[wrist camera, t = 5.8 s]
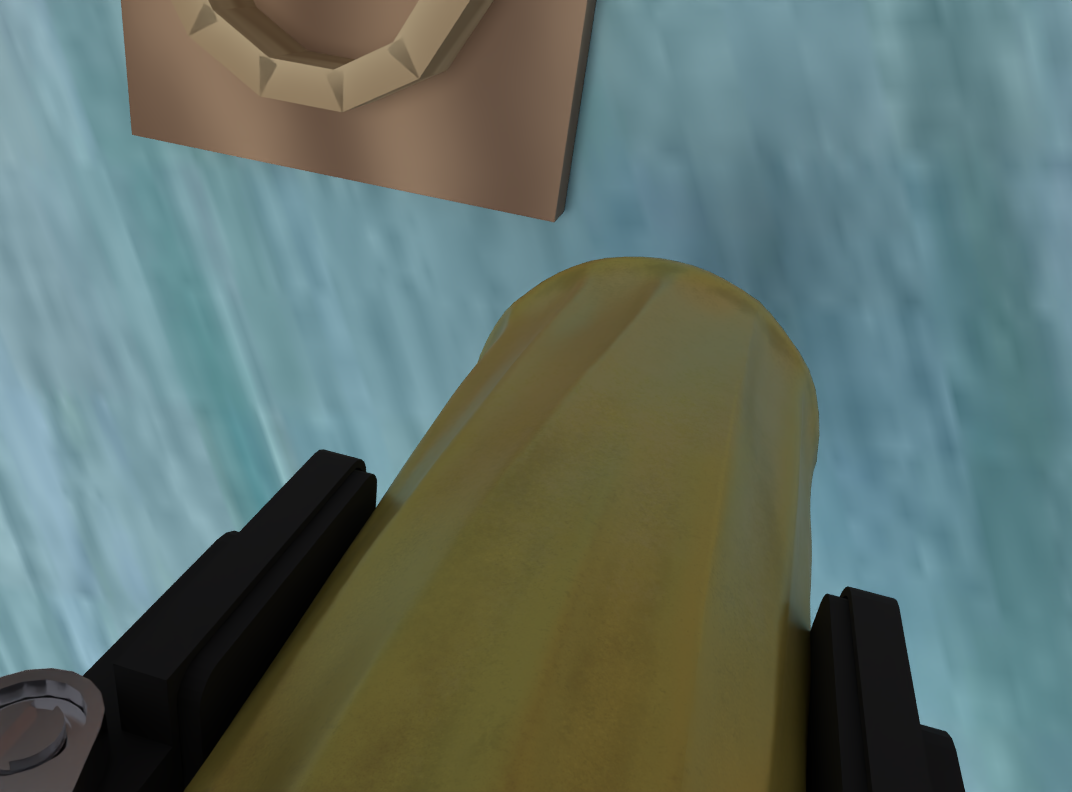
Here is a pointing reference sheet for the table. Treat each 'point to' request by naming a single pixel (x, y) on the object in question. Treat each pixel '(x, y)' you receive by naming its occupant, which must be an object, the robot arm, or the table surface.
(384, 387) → the table surface
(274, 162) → the stand
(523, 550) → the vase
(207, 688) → the robot arm
